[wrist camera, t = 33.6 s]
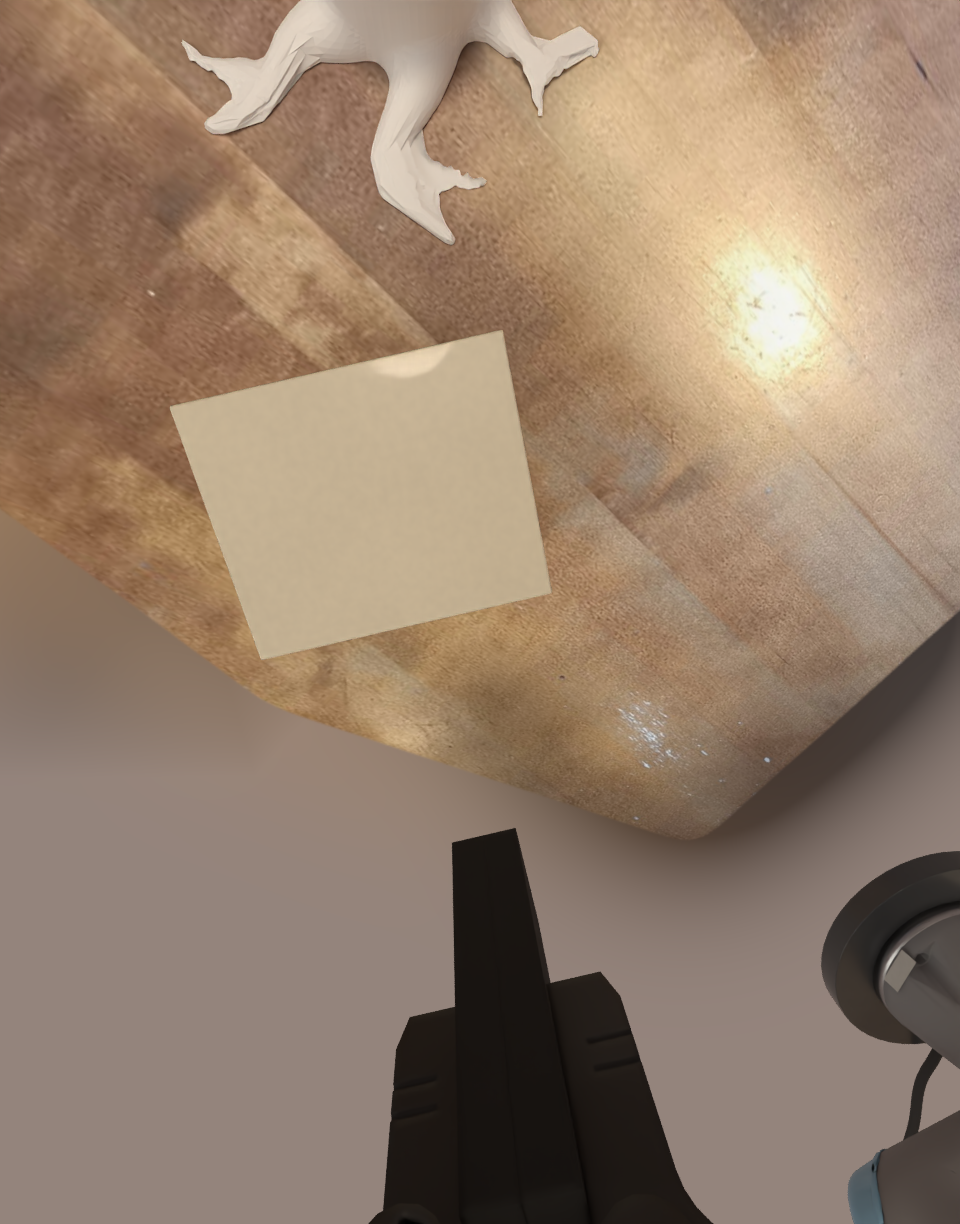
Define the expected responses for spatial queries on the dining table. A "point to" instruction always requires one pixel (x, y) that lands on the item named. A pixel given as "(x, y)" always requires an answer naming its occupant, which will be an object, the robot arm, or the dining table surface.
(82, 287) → the dining table surface
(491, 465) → the lid
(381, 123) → the white tree stump
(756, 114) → the dining table surface
